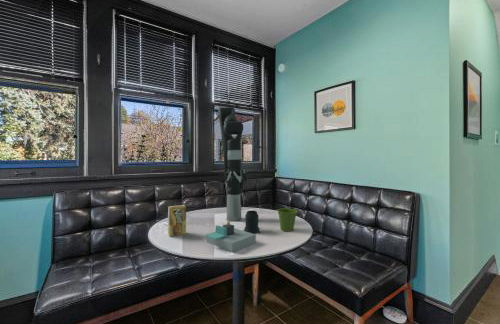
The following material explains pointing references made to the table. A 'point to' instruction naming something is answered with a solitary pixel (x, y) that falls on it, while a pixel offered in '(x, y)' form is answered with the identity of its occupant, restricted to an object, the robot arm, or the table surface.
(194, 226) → the table surface
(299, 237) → the table surface
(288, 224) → the plant pot
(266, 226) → the table surface
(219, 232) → the shutter
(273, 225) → the table surface
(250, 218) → the mug
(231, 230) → the plug
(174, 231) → the candy box
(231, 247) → the socket plate
